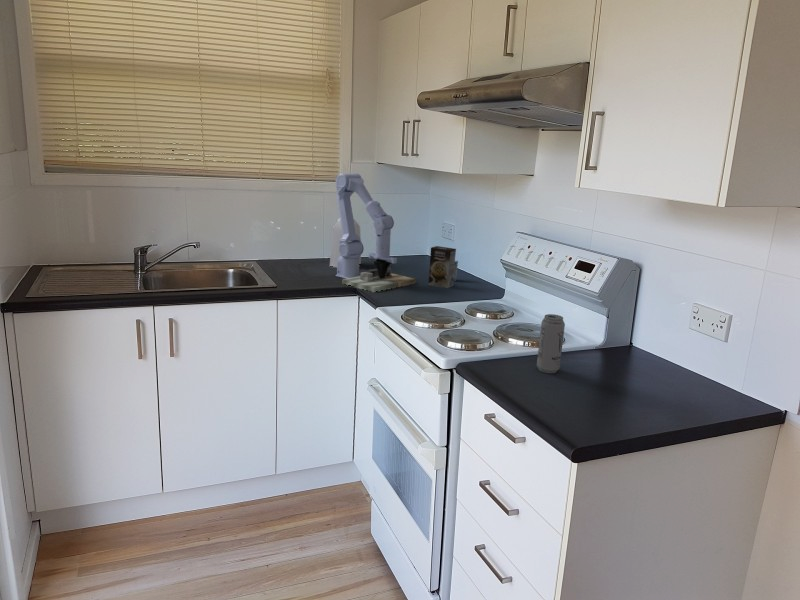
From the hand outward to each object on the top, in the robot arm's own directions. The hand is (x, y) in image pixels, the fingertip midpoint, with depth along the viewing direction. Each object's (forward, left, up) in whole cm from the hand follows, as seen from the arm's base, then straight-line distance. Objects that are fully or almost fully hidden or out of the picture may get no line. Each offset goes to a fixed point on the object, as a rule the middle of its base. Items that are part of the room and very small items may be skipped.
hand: (381, 277), depth 250 cm
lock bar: (-4, +3, 0) cm, 5 cm away
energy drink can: (+96, -37, -3) cm, 103 cm away
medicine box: (+11, +30, -3) cm, 33 cm away
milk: (-38, +15, -3) cm, 41 cm away
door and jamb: (-2, +1, -3) cm, 4 cm away
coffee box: (+16, +19, -3) cm, 25 cm away
